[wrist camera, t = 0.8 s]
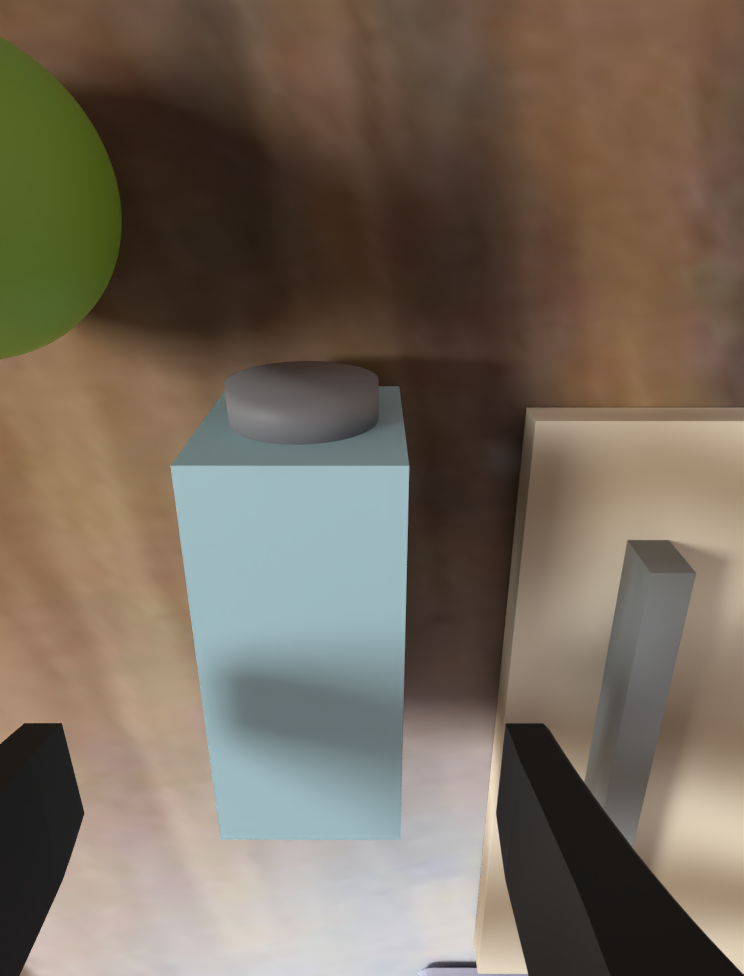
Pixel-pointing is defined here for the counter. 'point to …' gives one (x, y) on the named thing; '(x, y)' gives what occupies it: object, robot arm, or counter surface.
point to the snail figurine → (50, 208)
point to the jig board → (632, 647)
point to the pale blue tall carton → (300, 599)
